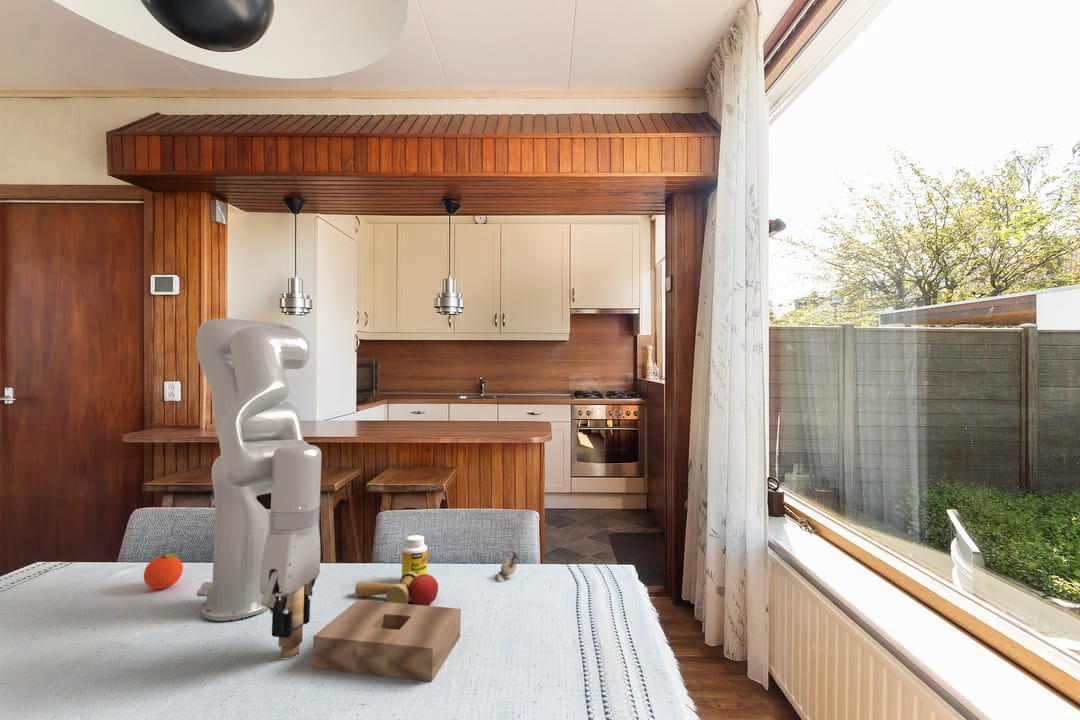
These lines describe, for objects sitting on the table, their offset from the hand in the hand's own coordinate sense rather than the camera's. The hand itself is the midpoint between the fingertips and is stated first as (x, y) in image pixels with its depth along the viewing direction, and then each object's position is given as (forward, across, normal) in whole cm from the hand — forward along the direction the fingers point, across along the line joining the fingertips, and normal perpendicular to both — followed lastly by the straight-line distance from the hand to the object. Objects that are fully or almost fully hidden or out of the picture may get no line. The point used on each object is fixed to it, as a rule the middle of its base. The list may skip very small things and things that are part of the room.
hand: (291, 628), depth 86 cm
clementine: (+5, -20, -44) cm, 49 cm away
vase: (+5, -40, +29) cm, 50 cm away
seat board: (+4, -4, +16) cm, 17 cm away
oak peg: (+4, 0, 0) cm, 4 cm away
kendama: (+5, -23, +8) cm, 25 cm away
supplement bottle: (+5, -33, +8) cm, 34 cm away
